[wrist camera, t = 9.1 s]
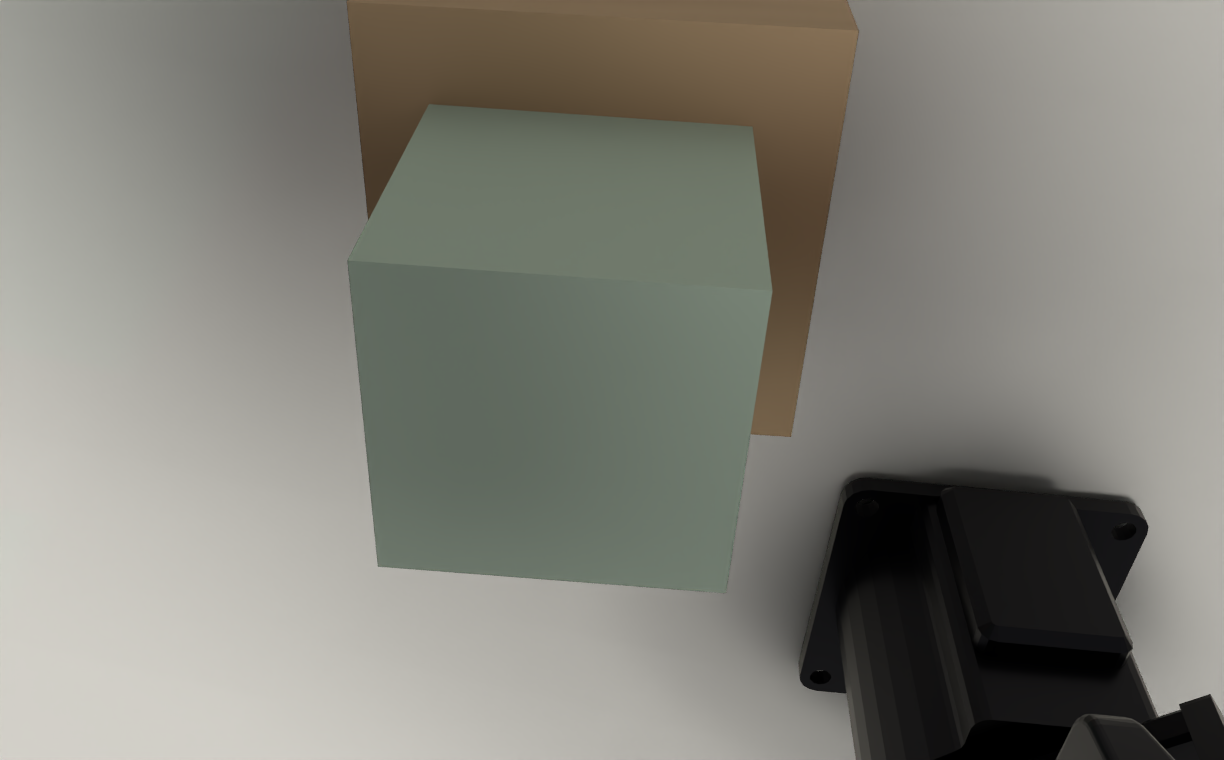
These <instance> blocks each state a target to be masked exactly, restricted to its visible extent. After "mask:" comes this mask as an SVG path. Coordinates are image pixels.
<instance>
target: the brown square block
mask: <svg viewBox="0 0 1224 760" xmlns="http://www.w3.org/2000/svg"><path fill="white" fill-rule="evenodd" d="M347 10H348V20H349V30H350V40H351V50H352V61H353V71H354V81H355V91H356V101H357V111H358V122H359V132H360V142H361V152H362V162H363V172H364V183H365V193H366V203H367V213H368V220H369V218H370V216H371V214H372V212H373V210H374V209H375V207H376V205H377V203H378V201H379V199H380V197H381V195H382V193H383V191H384V189H385V187H386V186H387V184H388V182H389V180H390V178H391V176H392V174H393V172H394V170H395V168H396V166H397V164H398V162H399V161H400V159H401V157H402V155H403V153H404V151H405V149H406V147H407V145H408V143H409V141H410V139H411V138H412V136H413V134H414V132H415V130H416V128H417V126H418V124H419V122H420V120H421V118H422V116H423V114H424V113H425V111H426V109H427V107H428V105H429V104H434V105H448V106H463V107H477V108H492V109H506V110H520V111H535V112H549V113H564V114H578V115H592V116H607V117H621V118H636V119H650V120H664V121H679V122H693V123H708V124H722V125H737V126H751V127H753V135H754V144H755V152H756V160H757V168H758V176H759V185H760V193H761V201H762V209H763V217H764V226H765V234H766V242H767V250H768V258H769V267H770V275H771V283H772V297H771V304H770V310H769V317H768V323H767V330H766V336H765V343H764V349H763V356H762V362H761V369H760V375H759V382H758V388H757V395H756V401H755V408H754V414H753V421H752V427H751V434H755V435H770V436H785V437H791V434H792V428H793V422H794V416H795V410H796V404H797V398H798V392H799V386H800V380H801V374H802V368H803V362H804V356H805V350H806V344H807V338H808V332H809V326H810V320H811V314H812V308H813V302H814V296H815V290H816V284H817V278H818V272H819V266H820V260H821V254H822V248H823V242H824V236H825V230H826V224H827V218H828V212H829V206H830V200H831V194H832V188H833V182H834V176H835V170H836V164H837V158H838V152H839V146H840V140H841V134H842V128H843V122H844V116H845V110H846V104H847V98H848V92H849V86H850V80H851V74H852V68H853V62H854V56H855V50H856V44H857V39H858V33H859V30H858V27H857V25H856V22H855V20H854V17H853V15H852V12H851V9H850V7H849V4H848V2H847V0H348V1H347Z"/></svg>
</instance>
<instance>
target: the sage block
mask: <svg viewBox="0 0 1224 760" xmlns="http://www.w3.org/2000/svg"><path fill="white" fill-rule="evenodd" d="M347 261H348V271H349V281H350V291H351V301H352V311H353V321H354V331H355V341H356V351H357V361H358V371H359V381H360V391H361V401H362V411H363V421H364V432H365V442H366V452H367V462H368V472H369V482H370V492H371V502H372V512H373V522H374V532H375V542H376V552H377V562H378V567H390V568H403V569H416V570H429V571H442V572H455V573H468V574H481V575H494V576H507V577H521V578H534V579H547V580H560V581H573V582H586V583H599V584H612V585H625V586H638V587H651V588H664V589H677V590H690V591H703V592H716V593H726V589H727V583H728V576H729V570H730V563H731V557H732V550H733V544H734V537H735V531H736V524H737V518H738V511H739V505H740V499H741V492H742V486H743V479H744V473H745V466H746V460H747V453H748V447H749V440H750V434H751V427H752V421H753V414H754V408H755V401H756V395H757V388H758V382H759V375H760V369H761V362H762V356H763V349H764V343H765V336H766V330H767V323H768V317H769V310H770V304H771V297H772V283H771V275H770V267H769V258H768V250H767V242H766V234H765V226H764V217H763V209H762V201H761V193H760V185H759V176H758V168H757V160H756V152H755V144H754V135H753V127H751V126H737V125H722V124H708V123H693V122H679V121H664V120H650V119H636V118H621V117H607V116H592V115H578V114H564V113H549V112H535V111H520V110H506V109H492V108H477V107H463V106H448V105H434V104H429V105H428V107H427V109H426V111H425V113H424V114H423V116H422V118H421V120H420V122H419V124H418V126H417V128H416V130H415V132H414V134H413V136H412V138H411V139H410V141H409V143H408V145H407V147H406V149H405V151H404V153H403V155H402V157H401V159H400V161H399V162H398V164H397V166H396V168H395V170H394V172H393V174H392V176H391V178H390V180H389V182H388V184H387V186H386V187H385V189H384V191H383V193H382V195H381V197H380V199H379V201H378V203H377V205H376V207H375V209H374V210H373V212H372V214H371V216H370V218H369V220H368V222H367V224H366V226H365V228H364V230H363V232H362V233H361V235H360V237H359V239H358V241H357V243H356V245H355V247H354V249H353V251H352V253H351V255H350V257H349V258H348V260H347Z"/></svg>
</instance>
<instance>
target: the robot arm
mask: <svg viewBox="0 0 1224 760" xmlns="http://www.w3.org/2000/svg"><path fill="white" fill-rule="evenodd" d="M862 499H872V500H874V501H872V502H870V503H869V504H859V503H857V502H859V501H861V500H862ZM1121 523H1127V524H1126V525H1124V526H1122V527H1117V528H1114V527H1115V526H1117V525H1119V524H1121ZM1147 532H1148V524H1147V522H1146V520H1145V518H1144V516H1143V514H1142V512H1141V510H1140V508H1139V507H1138V506H1136V505H1135V504H1133V503H1129V502H1124V501H1113V500H1103V499H1092V498H1081V497H1070V496H1059V495H1049V494H1038V493H1027V492H1016V491H1005V490H995V489H984V488H973V487H962V486H951V485H941V484H930V483H919V482H908V481H897V480H886V479H876V478H859V479H857V480H854V481H851V482H850V483H849V484H848V485H846V486H845V487H844V489H843V491H842V493H841V496H840V500H839V504H838V508H837V512H836V516H835V520H834V524H833V528H832V532H831V536H830V540H829V544H828V548H827V552H826V556H825V560H824V564H823V568H822V572H821V576H820V580H819V584H818V588H817V592H816V596H815V599H814V603H813V607H812V611H811V615H810V619H809V623H808V627H807V631H806V635H805V639H804V643H803V647H802V651H801V655H800V659H799V673H800V681H801V682H802V684H803V685H804V686H805V687H807V688H809V689H812V690H816V691H826V692H837V693H847V700H848V707H849V714H850V721H851V728H852V735H853V742H854V749H855V757H856V760H1224V717H1223V715H1222V713H1221V711H1220V710H1219V708H1218V706H1217V705H1216V703H1215V701H1214V699H1213V698H1212V696H1211V694H1209V695H1206V696H1203V697H1200V698H1197V699H1194V700H1191V701H1188V702H1185V703H1182V704H1179V706H1180V709H1181V710H1178V711H1175V712H1172V713H1169V714H1166V715H1163V716H1160V717H1158V715H1157V712H1156V710H1155V708H1154V705H1153V703H1152V700H1151V698H1150V696H1149V693H1148V691H1147V688H1146V686H1145V684H1144V681H1143V679H1142V676H1141V674H1140V672H1139V669H1138V667H1137V664H1136V662H1135V660H1134V657H1133V655H1132V652H1131V651H1132V649H1133V645H1132V640H1131V638H1130V635H1129V633H1128V631H1127V628H1126V626H1125V624H1124V621H1123V619H1122V616H1121V614H1120V612H1119V609H1118V607H1117V605H1116V602H1115V600H1116V598H1117V596H1118V594H1119V592H1120V590H1121V588H1122V586H1123V584H1124V581H1125V579H1126V577H1127V575H1128V573H1129V571H1130V569H1131V567H1132V565H1133V563H1134V560H1135V558H1136V556H1137V554H1138V552H1139V550H1140V548H1141V546H1142V544H1143V542H1144V539H1145V537H1146V535H1147ZM817 670H823V671H817Z"/></svg>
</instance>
